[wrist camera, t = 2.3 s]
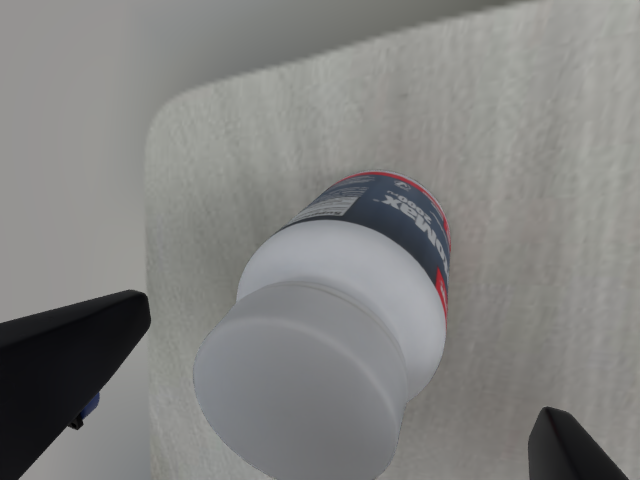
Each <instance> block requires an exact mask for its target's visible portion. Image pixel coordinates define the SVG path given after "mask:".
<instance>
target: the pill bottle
mask: <svg viewBox="0 0 640 480" xmlns="http://www.w3.org/2000/svg"><path fill="white" fill-rule="evenodd" d="M450 251H451V238H450V229H449V225H448V221H447V218H446V216H445V213H444V211H443V209H442V208H441V206H440V204H439V203H438V201H437V200H436V199H435V197H434V196H433V195H432V194H431V193H430V192H429V191H428V190H427V189H426V188H425V187H423V186H422V185H421V184H420V183H418V182H416V181H415V180H413V179H411V178H409V177H407V176H405V175H402V174H399V173H396V172H391V171H385V170H369V171H362V172H358V173H355V174H352V175H349V176H347V177H345V178H343V179H341V180H339V181H338V182H336V183H335V184H334V185H332V186H331V187H330V188H328V189H327V190H326V191H325V192H324V193H322V194H321V195H320V196H319V197H318V198H316V199H315V200H314V201H313V202H312V203H311V204H309V205H308V206H307V207H306V208H305V209H303V210H302V211H301V212H300V213H299V214H298V215H296V216H295V217H294V218H293V219H291V220H290V221H289V222H288V223H287V224H286V225H284V226H283V227H282V228H281V229H280V230H278V231H277V232H276V233H275V234H273V235H272V236H271V237H270V238H269V239H268V240H267V241H265V242H264V244H263V245H262V246H261V247H260V248H259V249H258V250H257V251H256V252H255V253H254V254H253V256H252V257H251V259H250V260H249V261H248V263H247V265H246V267H245V269H244V271H243V273H242V276H241V279H240V282H239V285H238V291H237V299H236V304H235V305H233V307H232V308H231V309H230V310H229V312H228V313H227V314H226V316H225V317H224V318H223V319H222V320H221V321H220V322H219V323H218V324H217V325H216V326H215V327H214V329H213V330H212V331H211V332H210V333H209V334H208V336H207V337H206V338H205V339H204V341H203V342H202V344H201V346H200V348H199V350H198V352H197V355H196V358H195V362H194V368H193V383H194V388H195V393H196V397H197V400H198V402H199V405H200V407H201V410H202V412H203V414H204V415H205V417H206V419H207V421H208V422H209V424H210V426H211V427H212V428H213V430H214V431H215V432H216V434H217V435H218V436H219V437H220V438H221V439H222V441H223V442H224V443H225V444H226V445H227V446H228V447H229V448H230V449H232V450H233V451H234V452H235V453H236V454H237V455H239V456H240V457H241V458H242V459H243V460H245V461H246V462H247V463H249V464H250V465H252V466H253V467H255V468H256V469H258V470H260V471H262V472H263V473H265V474H267V475H268V476H271V477H273V478H275V479H277V480H374V479H375V478H377V477H378V476H379V475H380V474H382V473H383V472H384V471H385V469H386V468H387V467H388V466H389V464H390V462H391V460H392V458H393V456H394V453H395V451H396V447H397V444H398V439H399V434H400V429H401V424H402V419H403V414H404V411H405V408H406V404H407V402H408V401H410V400H411V399H412V398H414V397H415V396H416V395H417V394H418V393H420V392H421V391H422V390H423V389H424V388H425V387H426V385H427V384H428V383H429V382H430V380H431V379H432V377H433V375H434V374H435V372H436V370H437V368H438V366H439V363H440V361H441V357H442V354H443V350H444V345H445V339H446V329H447V304H448V284H449V267H450Z"/></svg>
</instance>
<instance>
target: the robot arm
mask: <svg viewBox="0 0 640 480" xmlns="http://www.w3.org/2000/svg"><path fill="white" fill-rule="evenodd" d="M150 324H151V316H150V309H149V302H148V297H147V296H146V294H144V293H142V292H138V291H135V290H126V291H122V292H118V293H114V294H110V295H107V296H103V297H99V298H95V299H92V300H88V301H84V302H80V303H76V304H72V305H69V306H65V307H61V308H57V309H53V310H49V311H45V312H42V313H38V314H34V315H30V316H26V317H22V318H18V319H14V320H11V321H7V322H3V323H0V480H18V479H19V478H20V477H21V476H22V475H23V474H24V473H25V472H26V470H28V468H29V467H30V466H31V465H32V464H33V463H34V462H35V461H36V460H37V458H39V456H40V455H41V454H42V453H43V452H44V451H45V450H46V449H47V447H49V445H50V444H51V443H52V442H53V441H54V440H55V439H56V438H57V437H58V436H59V435H60V434H61V432H62V431H63V430H64V429H65V428H66V427H67V426H68V427H70V428H72V429H75V430H79V429H80V428H81V427H82V426H83V425H84V424H83V420H82V416H81V413H80V412H81V411H82V409H83V408H84V407H85V406H86V405H87V404H88V403H89V402H90V401H91V400H92V399H93V397H94V396H95V395H96V394H97V393H98V392H99V391H100V390H101V389H102V387H103V386H104V385H105V384H106V383H107V382H108V381H109V380H110V378H111V377H112V376H113V375H114V373H115V372H116V371H117V370H118V368H119V367H120V365H121V364H122V363H123V362H124V360H125V359H126V358H127V356H128V355H129V354H130V353H131V351H132V350H133V349H134V347H135V346H136V345H137V343H138V342H139V341H140V339H141V338H142V337H143V336H144V334H145V333H146V332H147V330H148V329H149V327H150ZM528 459H529V479H530V480H629V479H628V478H627V477H626V476H625V474H624V473H623V472H622V471H621V470H620V469H619V468H618V467H617V465H616V464H615V463H614V462H613V461H612V460H611V459H610V458H609V456H608V455H607V454H606V453H605V452H604V451H603V450H602V448H601V447H600V446H599V445H598V444H597V443H596V442H595V441H594V439H593V438H592V437H591V436H590V435H589V434H588V433H587V432H586V430H585V429H584V428H583V427H582V426H581V425H580V424H579V423H578V421H577V420H576V419H575V418H574V417H573V416H572V415H571V414H570V413H568V412H566V411H563V410H559V409H556V408H552V407H548V406H547V407H543V408H542V410H541V411H540V413H539V415H538V418H537V420H536V422H535V424H534V427H533V429H532V431H531V434H530V436H529V441H528Z"/></svg>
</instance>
